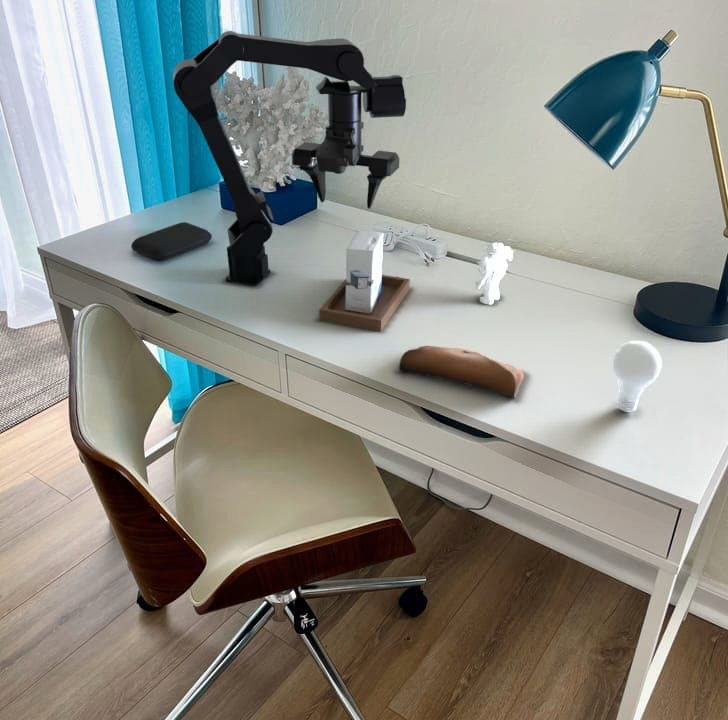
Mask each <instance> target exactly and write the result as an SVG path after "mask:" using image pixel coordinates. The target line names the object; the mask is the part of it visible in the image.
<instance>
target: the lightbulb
mask: <svg viewBox="0 0 728 720" xmlns="http://www.w3.org/2000/svg"><path fill="white" fill-rule="evenodd" d="M661 369H662V357H661V355H660V353H659V351H658V350H657V349H656V348H655V347H654V346H653V345H652V344H651V343H648V342H646V341H643V340H630V341H628V342H625V343H623V344H622V345H620V346H619V347H618V348H617V350H616V351H615V352H614V355H613V358H612V370H613V373H614V376H615V377H616V379H617V382H618V390H619V392H618V398H617V402H616V407H617V408H618V409H619V410H621V411H623V412H626V413H632V412H634V411H636V410H637V407H638V402H639V398H640V396H641V395H642V394H643V392H644V391H645V389H646V387H648V386H649V385H650V384H652V383H653V382H654V381H655V380H656V379H657V378H658V376H659V375H660V372H661Z"/></svg>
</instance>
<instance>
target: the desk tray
mask: <svg viewBox="0 0 728 720" xmlns="http://www.w3.org/2000/svg"><path fill="white" fill-rule="evenodd" d="M410 282H411V279H410V278H406V277H405V278H404V277H399V276H394V275H393V276H392V275H386V274H382V281H381V293H380V295H379V297H378V299H377V302H376V304H375V306H374V308H373V310H372V312H371V313H363V312H356V311H350V310H346V309H345V304H346V278H345V279H344V280H343V282H341V284H340V285H339V286H338V287H337V288H336V289H335V290H334V292H333V293H331V295H330V296H329V298H328V299H327V300H326V301H325V302H324V303H323V305H322V306H321V307H320V308H319V309H318V313H319V321H321V322H327V323H333V324H338V325H342V326H343V325H344V326H348V327H353V328H359V329H366V330H371V331H375V332H382V331H383V329H384V328H385V326H386V325H387V324H388V322H389V320H390V319H391V317H392V316H393V315H394V313H395V312H396V311H397V308H398V307H399V306H400V304H401V302H402V301H403V299H404V298H405V297H406V295H407V293H409V291H410Z"/></svg>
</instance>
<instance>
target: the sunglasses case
mask: <svg viewBox="0 0 728 720" xmlns="http://www.w3.org/2000/svg"><path fill="white" fill-rule="evenodd" d="M398 369H399V372H404V373H411V374H417V375H420V376H421V375H422V376H429V377H433V378H441V379H443V380H448V381H451V382H454V383H460V384H465V385H470V386H471V387H475V388H478V389H484V390H486V391H487V390H488V391H492V392H496V393H499V394H504V395H507V396H512V397H513V398H515V399H516V398H517V397H518V394H519V392H520V389H521V387H522V383H523V382H524V379H525V375H526V374H525V372H524V371H522V370H520V368H517V367H516V366H514V365H511V364H507V363H505V362H503V361H499V360H496V359H493V358H490V357H487V356H486V355H483V354H481V353H480V352H477V351H472V350H468V349H464V348H458V347H444V346H436V345H435V346H434V345H424V346H419V347H418V348H413V349H408V350H406V351H405V352H404V353H402V355H401V358H400V361H399V366H398Z"/></svg>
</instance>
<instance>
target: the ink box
mask: <svg viewBox="0 0 728 720" xmlns="http://www.w3.org/2000/svg"><path fill="white" fill-rule="evenodd" d="M383 249H384V233H383V232H379V231H371V230H370V231H369V230H360V229H357V230H356V232H355V233H354V235H353V237H352V239H351V241H350V242H349V243H348V246H347V247H346V254H345V255H346V259H345V261H346V262H345V264H346V266H345V279H346V304H345V309H346V310H350V311H356V312H363V313H371V312H372V310H373V308H374V306H375V304H376V302H377V299H378V297H379V295H380V293H381V281H382V275H383V251H384V250H383Z"/></svg>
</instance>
